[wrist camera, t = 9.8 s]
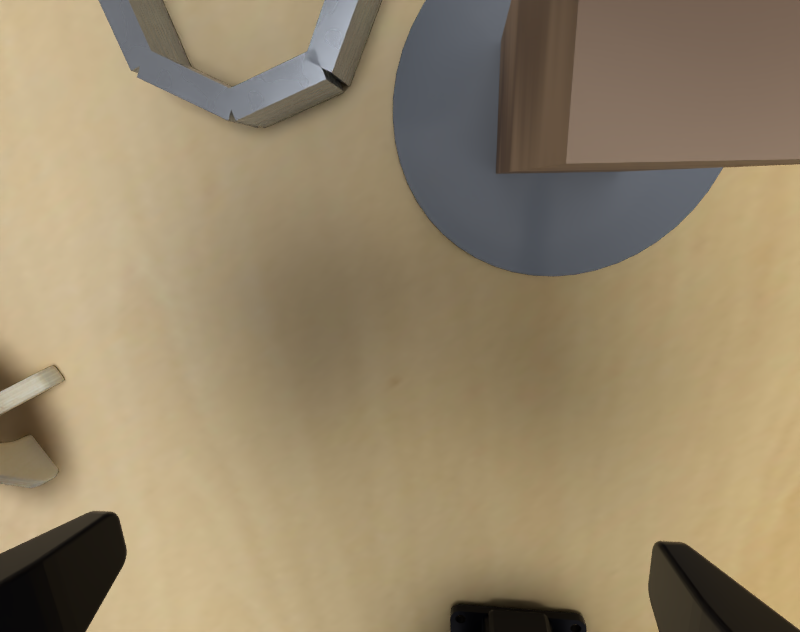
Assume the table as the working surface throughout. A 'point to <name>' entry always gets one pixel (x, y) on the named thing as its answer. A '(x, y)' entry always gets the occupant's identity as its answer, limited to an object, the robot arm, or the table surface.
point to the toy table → (25, 455)
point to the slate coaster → (515, 192)
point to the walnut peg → (648, 85)
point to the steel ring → (261, 95)
